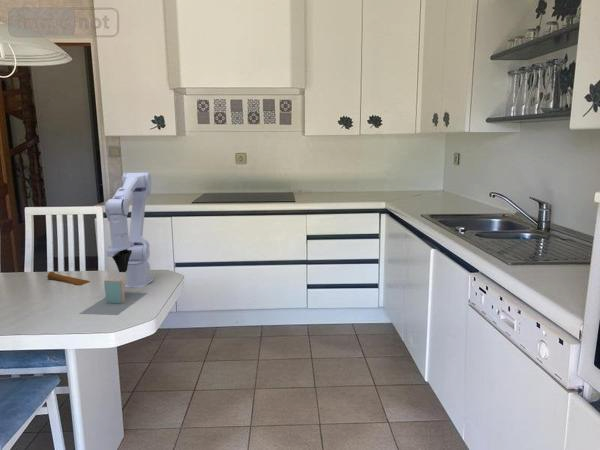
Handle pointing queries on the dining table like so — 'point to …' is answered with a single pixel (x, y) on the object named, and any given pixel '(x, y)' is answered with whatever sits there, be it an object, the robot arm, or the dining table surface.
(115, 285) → the tile
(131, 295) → the mat
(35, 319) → the dining table surface
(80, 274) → the dining table surface
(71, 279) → the primitive tool
